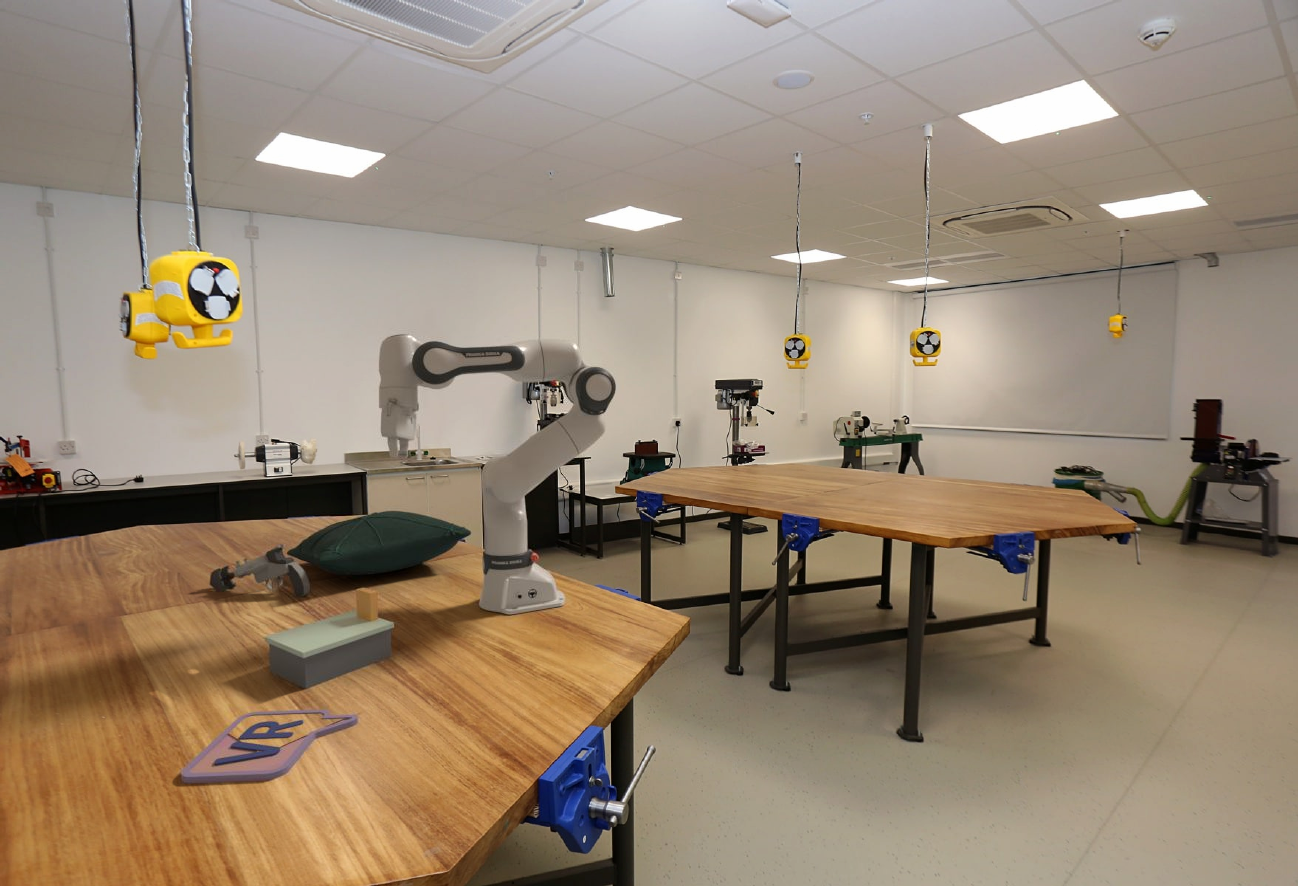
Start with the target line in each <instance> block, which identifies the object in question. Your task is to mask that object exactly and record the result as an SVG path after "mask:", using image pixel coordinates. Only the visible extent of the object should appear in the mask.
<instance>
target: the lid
mask: <svg viewBox="0 0 1298 886" xmlns="http://www.w3.org/2000/svg"><path fill="white" fill-rule="evenodd" d="M355 593H356V609H353V610H350V611H347V612H343V613H340V614H336V615H333V616H329V617H327V618H326V617H325V618H323V619H319V620H317V621H312V622H309V623H306V624H302V625H300V626H296V627H292V628H289V629H285V630H283V631H279V632H276V633H273V634H269V635H266V636H264V642H265V643H267V644H268V645H269V644H272V645H274V646H276V647H279V648H281V649H283V650H286V651H288V652H290V653H293V654H295V655H297V656H300V657H302V658H306V657H309V656H311V655H314V654H317V653H320V652H323V651H326V650H329V649H332V648H335V647H338V646H341V645H344V644H347V643H350V642H353V641H355V640H358V639H361V638H364V637H367V636H370V635H373V634H376V633H379V632H382V631H385V630H388V629H391V630H392V629H394V628H395V622H393V621H390V620H387V619H384V618H381V617H379V616H378V615H379V614H378V613H379V612H378V610H379V609H378V591H377V590H373V589H369V588H366V587H361V588H357V589H355Z"/></svg>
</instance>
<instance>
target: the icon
mask: <svg viewBox="0 0 1298 886" xmlns="http://www.w3.org/2000/svg"><path fill="white" fill-rule="evenodd" d="M301 714H302V715H304V714H305V715H306V714H323V716H322V717H321V720H332V719H333V720H334V719H335V720H336V719H339V720H337V721H335V722H333V723H331V724H329V725H327V726H324V727H322V728H318V729H316V730H312V731H310V732H308V734H305V735H304V736H302V737H299V738H297V739H295V740H292V741H290V742H288V743H285V744H283V745H281V746H273V745H267V744H259V743H253V742H247V741H246V742H245V741H241V740H262V739H267V740H268V739H289V738H291V737H293V735H294V732H293V731H287V732H286V731H282V732H279V731H280V730H286V729H289V728H294V727H297V726H301V725H303V724H304V720H303V719H300V720H295V721H291V722H287V723H282V724H280V723H279V722H278V721H272V720H271V721H270V720H269V721H261V722H257V723H254V724H252V725H251V726H249V727H248V728H246V729H245V731H243V732H242V733H241V734H240V736H238V738H236V737H235V736H233V735H232V734H230V732H231V731H233V729H235V727H237V726H238V725H239V724H240V723H241V722H243V720H244V719H247V718H248V717H251V716H271V715H272V716H273V715H275V716H277V715H301ZM358 724H359V715H357V714H331V712H330V711H329V710H327V709H302V710H301V709H299V710H296V709H295V710H292V709H291V710H268V711H252V712H249V713H245V714H242V715H241V716H239V717H238V718H236V719H235V720H234V721H233V722H232V723H230V725H229V726H228V727H227V728H225V729H224V730H223V731H222V732H221V733H220V734H219V735H218V736H217V737H215V739H213V740H212V741H211V742H210V743H209V744H208V745H207V746H206V747H205V748H204V749H203V750H201V751H200V752H199V753H198V755H196V756H195V757H194V758H192V760H191V761H190V762H189V763H187V764H186V765H185V766H184V767H183V768H182V769H181V771H180V780H181V781H182V782H183V783H184V784H206V783H207V784H208V783H230V782H233V783H234V782H254V781H255V782H257V781H260V782H261V781H272V780H274V779H275V780H276V779H278V778H280V777H282V776H284V775H286V774H288V773H289V772H290V771H291V769H292V768H293V767H294V766H295V765H296V764H297V762H298V761H299V760H300V759H301V757H302V756H303V755H304V754H305V752H306V751H307V750H308V749H309V748H310V746H311V744H313V742H314V741H315V740H316V739H318V738H321V737H325V736H327V735H330V734H335V733H337V732H340V731H343V730H346V729H348V728H351V727H354V726H357V725H358ZM266 727H267V728H269V729H268V730H267V731H266V732H258V733H257V732H256V733H255V731H256V730H258V729H260V728H266ZM276 731H278V732H276Z"/></svg>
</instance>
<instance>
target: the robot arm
mask: <svg viewBox="0 0 1298 886" xmlns="http://www.w3.org/2000/svg"><path fill="white" fill-rule="evenodd" d="M581 352H582V351H581V349H580V348H579V346H578V345H577V343H575V342H574V341H572V340H566V339H555V338H554V339H553V338H551V339H550V338H547V339H546V338H542V339H530V340H522V341H517V342H514V343H509V344H508V343H507V344H503V345H498V346H495V345H494V346H493V345H492V346H474V347H471V346H470V347H468V346H467V347H459V346H453V345H451V344H448V343H445V342H442V341H437V340H436V341H435V340H434V341H428V342H427V341H426V342H424V343H423V342H422V341H419V340H418V339H416V337H414V336H413V335H412V334H402V333H400V334H395V335H391V336H387V337H386V338H384V340H382V342H381V344H380V349H379V355H378V357H379V358H378V373H379V377H380V383H379V385H378V408H379V409H381V413H380V434H381V437H383V438H386V439H387V445H388V446H387V447H388V450H389V451H388V452H389V457H390V458H398V457H399V458H400V459H407V458H408V453H409V451H408V450H409V447H410V441H411V442H412V441H414V440H415V437H416V431H417V412H419V411H420V410H419V409H420V407H419V406H420V405H419V402H418V401H419V400H418V398H419V397H418V391H419V390H418V389H419V386H420V387H423V388H428V389H432V390H442V389H445V388H447V387H449V386H450V385H451V384H452V383H453V382H454V380H455V378H456V377H458V376H461V375H475V374H487V373H489V374H490V373H495V374H502V375H505V376H507V377H509V378H511V379H512V380H513V381H514V382H515V381H516V382H521V383H542V382H553V381H556V382H557V381H558V382H560V384H561V386H562V389H563V391H564V392H563V393H564V394H565V397H566V398H567V399H568V400H569V401H570V403H572V406H571V408H570V410H569V411H568V412H566V414H565V415H563V416H561V417H559V418H558V419H556V420H555V421H553V422H552V423H550V424H547V426H545V427H544V428H542V429H541V430H539V431H538V432H536V433H534V434H533V435H531V436H530V437H529V438H528V439H526V440H525V441H524V442H523V443H522V444H520V445H519V446H518V447H517V448H516V449H514V450H513V451H512V452H510V453H508V454H499V455H495V456H493V457H491V458H489V459H488V460H487V462H485V464H484V466H483V468H482V470H481V489H482V492H481V493H482V509H483V510H482V512H483V532H484V533H483V535H484V537H483V538H484V540H483V541H484V544H483V545H484V550H483V552H482V561H481V562H482V563H481V564H482V565H481V566H482V572H483V573H482V574H483V581H482V582H483V583H482V589H481V595H480V599H479V602H478V606H479V608H481V609H483V610H486V611H489V612H496V613H501V614H504V615H516V614H522V613H527V612H533V611H534V612H535V611H539V610H540V611H541V610H545V609H551V608H557V607H562V606H564V605H565V603H566V596H565V594H564V593H563V592H562V591H561V590H559V589H558V588H557V583H556V580H555V579H554V576H553V575H552V574H551V573H550V572H549V571H547V570H545V569H544V568H543V567H541V566H540V565H538V564H537V563H538V561H539V558H540V557H539V555H538V553H536V552H535V551H533V550H532V549H529V548H528V519H527V511H526V499H525V496H526V495H527V494H529V493H530V492H531V491H533V490H534V489H535V488H536V487H537V486H538V485H540V484H541V483H542V482H543V481H545V480H546V479H547V478H548V477H549V476H550V475H551V474H553V473H554V472H556V471H557V470H558V469H559V468H561V467H563V466H564V465H566V464H567V463H569V462H570V461H572V460H574V459H575V458H576V457H578V456H579V455H581V454H583V453H584V452H585V451H586V450H587V449H589V448H590V447H592V445H594V444H595V443H596V442H597V441H598V440H599V439H600V438H601V437H602V436H603V435H604V433H605V432H606V421H605V419H604V416H603V415H604V414H605V413H606V411H607V409H608V407H609V405H610V403H612V401H613V398H614V396H615V394H616V388H617V387H616V386H617V385H616V381H615V378H614V376H613V374H611V373H610V372H609V371H608V370H607V369H605V368H603V367H599V366H588V365H586V364H585V362H584V361H583V356H582V355H583V354H582V353H581ZM398 444H399V446H398ZM536 562H537V563H536Z"/></svg>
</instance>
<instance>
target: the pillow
mask: <svg viewBox="0 0 1298 886" xmlns="http://www.w3.org/2000/svg"><path fill="white" fill-rule="evenodd" d="M471 534H472V531H471V530H469V529H468V528H467V527H465V526H459V525H458V524H454V523H451V522H448V521H446V520H443V519H441V518H437V517H432V516H429V515H425V514H420V513H416V512H411V511H403V510H402V511H399V510H385V511H379V512H372V513H370V514H366V515H362V516H359V517H354V518H351V519H347V520H343V521H338V522H335V523H332V524H330V525H327V526H325V527H324V528H321V529H319V530H317V531H315V532H314V533H312V534H310V535H309V536H308V537H307V538H305V539H304V538H303V540H302V541H301V542H300V543H299V544H298V545H296V546H295V547H294V548H291V549H289V550H288V551H287V552H286V555H288V557H291V558H295V559H297V560H300V561H302V562H306V563H308V564H311V565H314V566H317V567H318V568H320V569H322V570H323V571H326V572H328V573H330V574H331V573H332V574H338V575H348V576H349V575H351V576H352V575H354V576H356V575H357V576H360V575H361V576H363V575H375V574H376V575H377V574H384V573H388V572H394V571H399V570H403V569H406V568H410V567H414V566H416V565H420V564H424V563H425V562H428V561H430V560H432V559H435V558H437V557H439V556H441V555H443V554H445V553H447V552H449V551H450V550H451V549H453V548H454V547H455V546H456V545H457V544H458V542H459V541H462V540H463V539H465V538H467V537H469V536H471Z"/></svg>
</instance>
